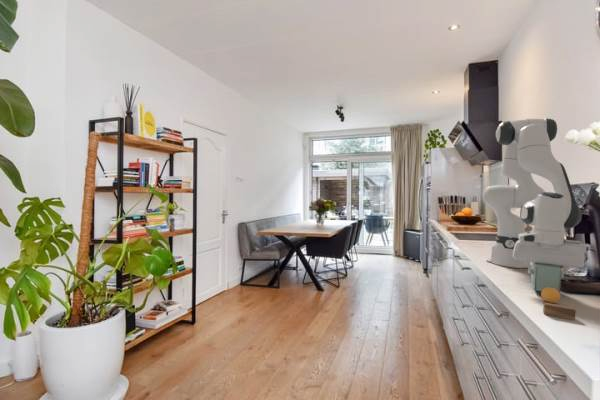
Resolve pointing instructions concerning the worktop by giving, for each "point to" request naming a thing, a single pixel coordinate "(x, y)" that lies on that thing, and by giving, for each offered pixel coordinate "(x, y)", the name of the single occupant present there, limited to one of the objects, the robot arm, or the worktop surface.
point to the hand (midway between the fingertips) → (545, 275)
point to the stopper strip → (559, 311)
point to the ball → (550, 295)
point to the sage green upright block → (545, 276)
